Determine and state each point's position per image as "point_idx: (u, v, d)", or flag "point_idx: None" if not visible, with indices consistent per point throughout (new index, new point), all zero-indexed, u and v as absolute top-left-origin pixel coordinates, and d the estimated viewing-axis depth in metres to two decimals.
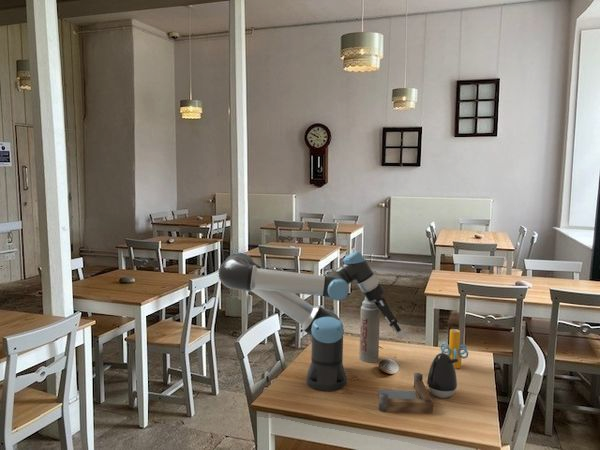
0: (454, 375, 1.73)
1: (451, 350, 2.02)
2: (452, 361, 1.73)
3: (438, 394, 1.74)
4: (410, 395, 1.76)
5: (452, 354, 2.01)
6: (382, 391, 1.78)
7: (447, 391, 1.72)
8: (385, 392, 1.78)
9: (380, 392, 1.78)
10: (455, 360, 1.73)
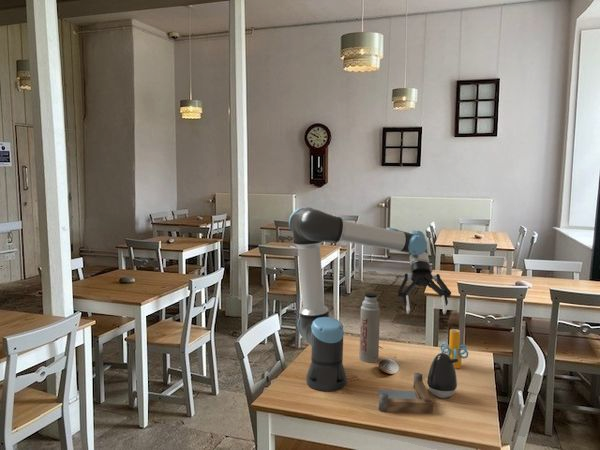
0: (454, 375, 1.73)
1: (451, 350, 2.02)
2: (452, 361, 1.73)
3: (438, 394, 1.74)
4: (410, 395, 1.76)
5: (452, 354, 2.01)
6: (382, 391, 1.78)
7: (447, 391, 1.72)
8: (385, 392, 1.78)
9: (380, 392, 1.78)
10: (455, 360, 1.73)
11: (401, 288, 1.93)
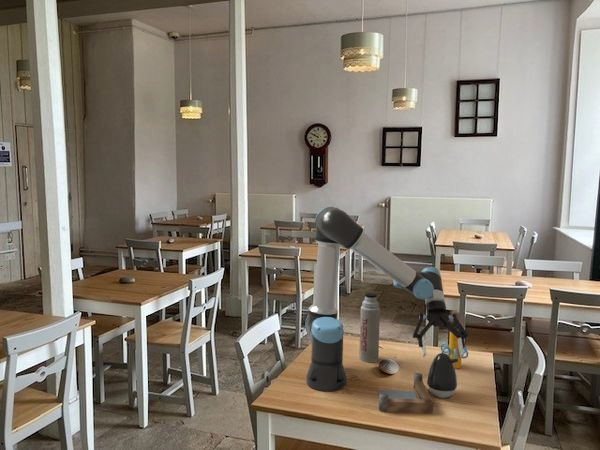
0: (454, 375, 1.73)
1: (451, 350, 2.02)
2: (452, 361, 1.73)
3: (438, 394, 1.74)
4: (410, 395, 1.76)
5: (452, 354, 2.01)
6: (382, 391, 1.78)
7: (447, 391, 1.72)
8: (385, 392, 1.78)
9: (380, 392, 1.78)
10: (455, 360, 1.73)
11: (417, 329, 1.87)
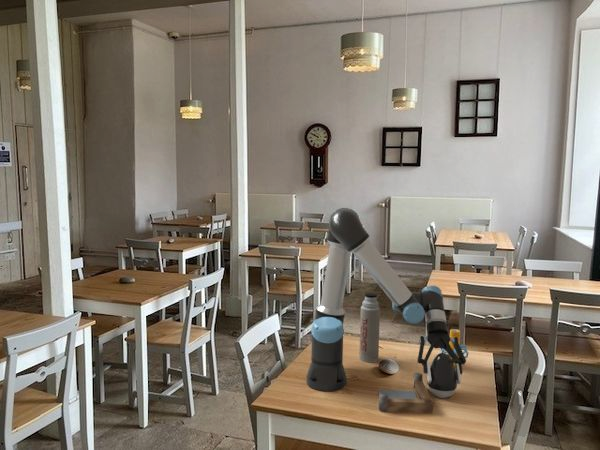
0: (454, 375, 1.73)
1: None
2: (452, 361, 1.73)
3: (438, 394, 1.74)
4: (410, 395, 1.76)
5: None
6: (382, 391, 1.78)
7: (447, 391, 1.72)
8: (385, 392, 1.78)
9: (380, 392, 1.78)
10: (455, 360, 1.73)
11: (420, 354, 1.79)
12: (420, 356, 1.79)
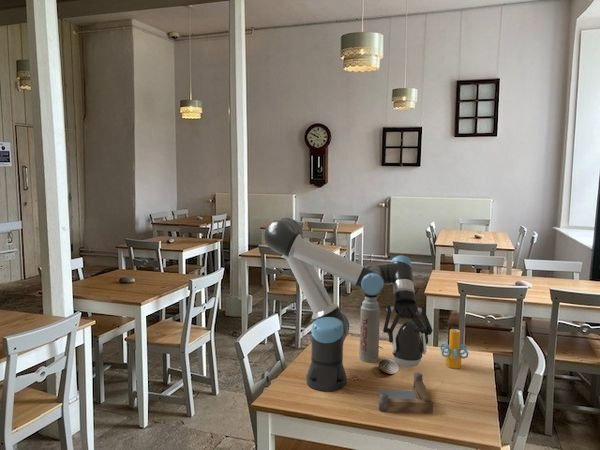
0: (419, 344, 1.69)
1: (451, 350, 2.02)
2: (418, 330, 1.69)
3: (403, 363, 1.69)
4: (410, 395, 1.76)
5: (452, 354, 2.01)
6: (382, 391, 1.78)
7: (412, 360, 1.68)
8: (385, 392, 1.78)
9: (380, 392, 1.78)
10: (421, 329, 1.68)
11: (386, 323, 1.74)
12: (386, 325, 1.74)
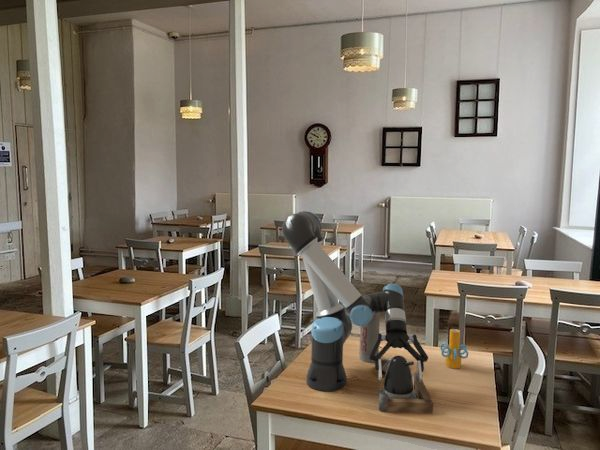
0: (409, 378, 1.69)
1: (451, 350, 2.02)
2: (407, 364, 1.69)
3: None
4: None
5: (452, 354, 2.01)
6: (382, 391, 1.78)
7: (402, 394, 1.68)
8: None
9: (380, 392, 1.78)
10: (410, 363, 1.69)
11: (373, 351, 1.75)
12: (372, 353, 1.75)
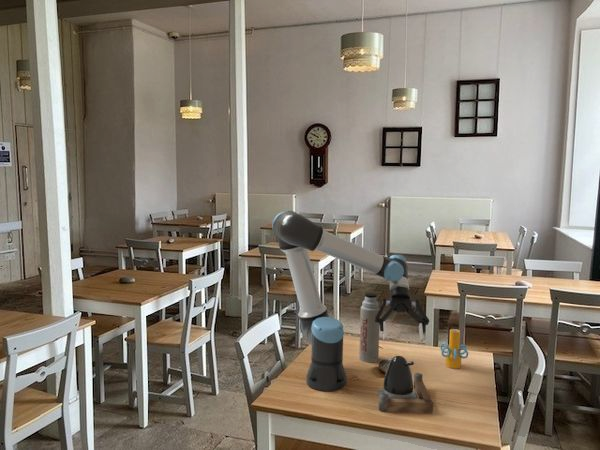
0: (409, 378, 1.69)
1: (451, 350, 2.02)
2: (408, 364, 1.69)
3: None
4: None
5: (452, 354, 2.01)
6: (382, 391, 1.78)
7: (402, 395, 1.68)
8: None
9: (380, 392, 1.78)
10: (410, 363, 1.69)
11: (379, 314, 1.89)
12: (377, 316, 1.89)
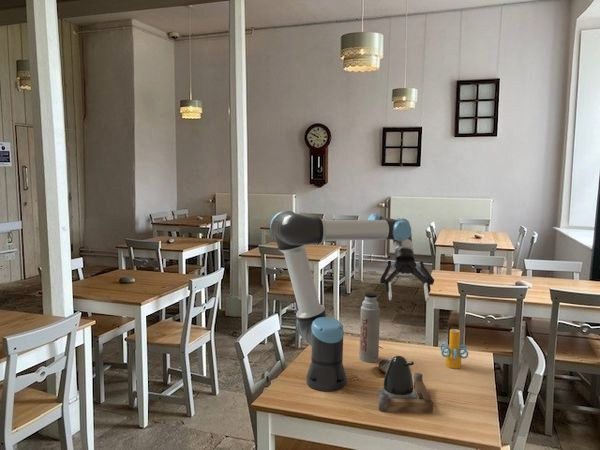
0: (409, 378, 1.69)
1: (451, 350, 2.02)
2: (408, 364, 1.69)
3: None
4: None
5: (452, 354, 2.01)
6: (382, 391, 1.78)
7: (402, 395, 1.68)
8: None
9: (380, 392, 1.78)
10: (410, 363, 1.69)
11: (384, 275, 1.91)
12: (383, 277, 1.90)
